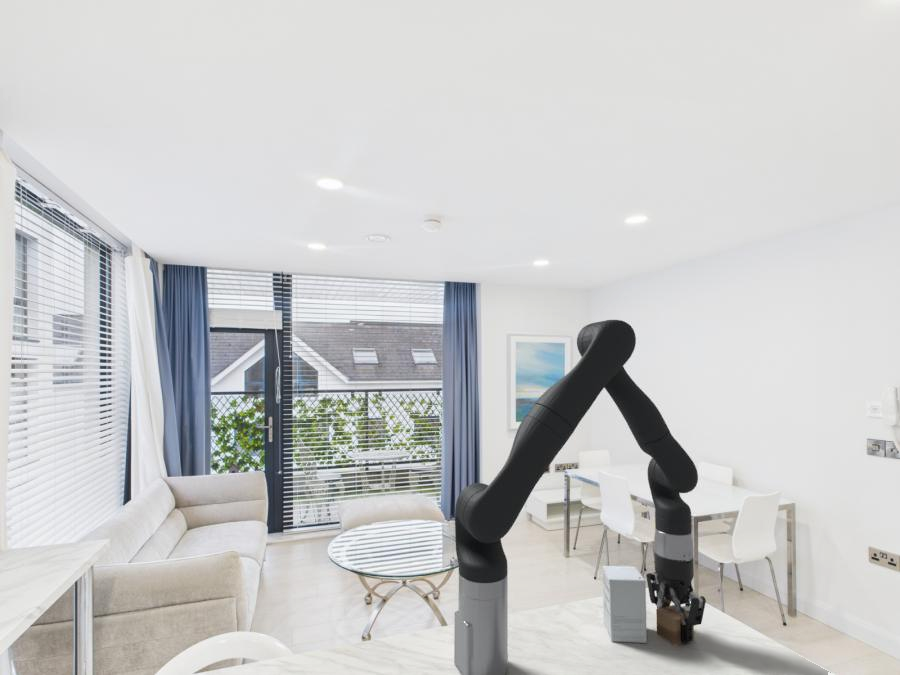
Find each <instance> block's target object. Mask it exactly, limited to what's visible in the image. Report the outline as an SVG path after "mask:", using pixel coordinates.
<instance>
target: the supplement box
mask: <svg viewBox="0 0 900 675" xmlns="http://www.w3.org/2000/svg"><path fill="white" fill-rule="evenodd" d="M646 591H647V590H646V580H645V579H644V577H643V575H642V574H641V573H640V571H639V570H638V568H637V567H636V566H623V565H602V597H603V598H602V600H603V601H602V603H603V604H602V606H603V607H602V608H603V609H602V610H603V612H602V614H603V616H602V618H603V625H604V627H605V629H606V631H607V635H608V638H609V639H610V641H611V642H615V643H616V642H619V643H621V642H622V643H637V644H638V643H642V644H643V643H644V644H647V643H648V642H647V641H648V639H647V638H648V637H647V636H648V635H647V633H648V632H647V604H646V603H647V601H646V599H647V597H646V596H647V595H646V593H647V592H646Z"/></svg>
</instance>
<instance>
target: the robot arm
mask: <svg viewBox="0 0 900 675" xmlns="http://www.w3.org/2000/svg"><path fill="white" fill-rule="evenodd" d="M636 342H637V338H636V332H635V331H634V328H633V327H632V326H631V325H630V324H629V323H628V322H626V321H624V320H621V319H607V320H601V321H597V322H592V323H589V324H587V325H585V326H583V327H582V328H581V329H580V330H579V332H578V335H577V339H576V347H577V350H578V352H579V355H580V356H581V357H580V360H579V361H578V363H576V364H575V366H574V367H573V368H572V369H571V370H570V371H569V372H568V373H567V374H565V375H564V376H563V377H561V378H560V379H559V380H558V381H556V382H555V383H554V384H552V385H551V386H550V387H549V388H548V389H547V390H546V391H545V392H543V394H541V395H540V396H539V397H538V399H536V401H535V402H534V404H533V405H532V406H531V408H530V409H529V411H528V412H527V414H526V415H525V416H524V417H523V419H522V420H521V421H520V423H519V426H518V428H517V431H516V433H515V436H514V439H513V443H512V446H511V449H510V452H509V455H508V457H507V460H506V461H505V463H504V465H503V466H502V468H501V470H500V471H499V472H498V473H497V474H496V476H495V477H494V478H493V480H492V481H491V482H490V483H489V484H487V483H483V482H475V483H471V484H468V485H467V486H466V487H464V488H463V489H462V490H461V491H460V493H459V494H458V496H457V499H456V502H455V507H454V508H455V511H454V530H455V531H454V533H455V554H456V558H457V563H458V610H455V612H454V632H453V633H454V636H453V637H454V641H453V642H454V645H453V646H454V651H453V653H454V655H453V656H454V658H453V659H454V665H455V667H457V669H458V670H459V672H460V673H461V675H506V674H507V672H508V665H509V664H508V663H509V662H508V659H509V658H508V657H509V654H508V652H509V651H508V635H509V634H508V617H509V616H508V609H509V608H508V604H509V603H508V602H509V601H508V589H509V588H508V578H509V577H508V559H507V555H506V554H505V551H504V548H503V543H502V539H503V538H504V537H505V536H506V535H507V534H508V533H509V532H510V530H511V529H512V527H513V526H514V524H515V522H516V521H517V519H518V517H519V515H520V513H521V511H522V510H523V507H524V506H525V504H526V502H527V500H528V499H529V497H530V496H531V493H532V492H533V490H534V488H535V487H536V485H537V484H538V482H539V481H540V479H541V478H542V477H543V475H545V473H546V471H547V470H548V469H549V467H550V465H551V464H552V463H553V461H554V460H555V458H556V457H557V455H558V454H559V452H560V451H561V450H562V449H563V448H564V446H565V445H566V443H567V442H568V440H569V439H570V438H571V436H572V435H573V434H574V432H575V430H576V428H577V427H578V425H579V424H580V422H581V421H582V419H584V417H585V415H586V413H588V411H589V410H590V408H591V407H592V405H593V404H594V402H595V401H596V400H597V399H598V397H599V395H600V394H601V393H602V391H603V390H606V392H607V393H608V394H609V396H610V398H611V399H612V402H614V404H615V406H616V407H617V409H618V410H619V412H620V413H621V415H622V417H623V419H624V420H625V422H626V424H627V426H628V428H629V430H630V432H631V434H632V436H633V437H634V439H635V441H636V443H637V445H638V446H639V448H640V449H641V450H642V452H644V453H645V454H647V455H648V456H649V457H651V459H650V461H649V462H648V467H647V482H648V486H649V489H650V490H649V491H650V493H651V499H652V501H653V506H654V519H655V521H654V523H655V524H654V525H655V528H654V529H655V531H654V536H653V537H654V538H653V539H654V540H653V541H654V543H653V544H654V545H653V546H654V548H653V549H654V572H649V573H646V574H645V575H646V582H647V588H648V593H649V599H650V602H651V604H655V606H656V609H659V608H663V607H668V606H671V603H672V604H673V605H675V609H676V611H677V612H678V613H679V617H680V621H681V624H680V631H681V642H683V643H684V644H689V643H691V640H692V639H693V636H692V635H693V634H692V626H694V627H695V626H698V625H701V624H702V622H703V617H704V613H705V606H706V602H707V600H706V598H705V597H704V596H699V595H698V594H697V593H696V592H694V588H693V585H692V582H693V579H694V577H695V565H694V564H695V563H694V561H695V560H694V559H695V558H694V540H693V533H692V526H693V525H692V511H691V508H690V506H689V504H687V502H685V501H684V500H683V498H682V497H681V494H687V493H690V492H693V490H694V489H695V488H697V484H698V480H699V475H698V474H699V473H698V470H697V467H696V465H695V463H694V461H693V460H692V458H691V457H690V456H689V454H688V452H686V450H685V449H684V448H683V447H682V446H681V443H679V442H678V441H677V440H676V439H675V437H674V436H673V434H672V433H671V431H670V429H669V427H668V425H667V423H666V421H665V419H664V417H663V416H662V415H663V414H661V412H660V411H659V409H658V407H657V406H656V404H655V403H654V402H653V401H652V399H651V398H650V397H649V396H648V395H647V394H646V393H645V392H644V391H643V390H642V389H641V388H640V387H639V386H638V384H636V382H635V381H634V380H633V379H632V377H631V376H630V375H629V374H628V372H627V370H626V369H625V367H624V366H625V364H627V362H628V361H629V359H630V358H631V357H632V355H633V353H634V351H635V348H636ZM655 592H656V593H655ZM682 605H683V606H682ZM685 611H686V614H687V617H685Z"/></svg>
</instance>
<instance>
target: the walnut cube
mask: <svg viewBox="0 0 900 675" xmlns="http://www.w3.org/2000/svg"><path fill="white" fill-rule="evenodd" d="M655 613H656V634H657V635H659V636H661V638H663V639H665V640H666V641H668V642H669V643H671V644H672V645H674V646H679V645H685V643H683V642H681V631H680V624H681V621H680V617H679V613H678V612H677V611H676V609H675V605H674V604H672V605H670V606H668V607H663V608H659V609H657V608H656V612H655ZM685 617H687V614H686V611H685ZM692 634H693V635H692V636H693V639H692V640H691V642H694V641H695V625H694V626H692ZM691 642H690V643H691Z"/></svg>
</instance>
